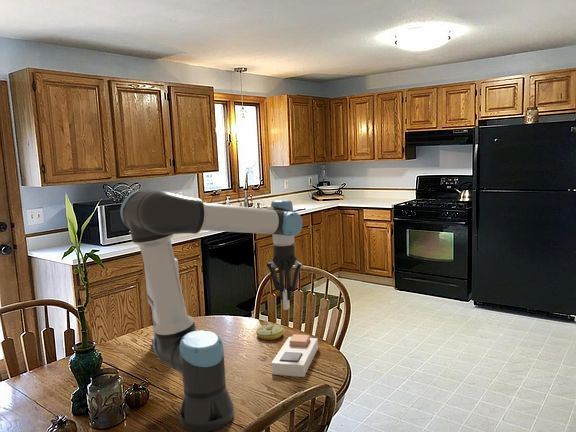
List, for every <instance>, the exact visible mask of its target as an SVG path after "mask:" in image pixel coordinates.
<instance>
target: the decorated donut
mask: <svg viewBox="0 0 576 432" xmlns="http://www.w3.org/2000/svg"><path fill="white" fill-rule="evenodd" d="M283 333H284V328H283V327H282V326H281V325H279V324H273V323H270V324H265V325H261V326H259V327H258V328H257V329H256V332H255V334H256V335H257V336H256V337H258V338H259V339H261V340H264V341H274V340H275V341H276V340H277V339H279V338H281V336H283Z"/></svg>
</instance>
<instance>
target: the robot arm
mask: <svg viewBox="0 0 576 432" xmlns="http://www.w3.org/2000/svg"><path fill="white" fill-rule="evenodd" d="M270 203H271V204H270V207H263V208H260V207H259V208H257V207H250V206H249V207H248V206H241V205H230V204H219V203H209V202H203V200H202V199H200V198H198V197H192V196H186V195H181V194H176V193H174V192H169V191H165V190H151V189H141V190H140V189H139V190H136V191H134V192H131V193H129V194H128V195H127V196H126V197H125V198H124V200H123V202H122V204H121V205H120V213H119V214H120V218H121V221H122V222H123V224H124V225H125V226H126V227H127V228H129V232H130V236H131V241H132V243H133V244H134V245H137V246H138V247H139V249H140V253H141V257H142V261H143V266H145V268H144V271H145V270H146V274H147V278H148V282H149V287H150V291H151V295H152V299H153V303H154V307H155V311H156V316H157V320H158V324H157V325H156V327H155V329H154V328H153V331H154V330H155V335H156V336H155V337H153V339H154V340H153V345H152V348H153V351H154V354H155V355H156V357H157V358H158V359H159V360H160V361H161V362H162V363H163V364H165V365H167V366H168V367H170V368H172V369H173V370H174V371H176V372H177V373H179V374H180V375H182V383H183V397H182V401H181V404H180V405H181V406H180V410H179V422H180V425H181V427H182V428H184V429H185V430H187V431H190V432H212V431H215V430H219V429H221V428H223V427H225V426H226V425H228V424H229V423H230V422H231V421H232V420H233V418H234V416H235V406H234V402H233V400H232V398H231V395H230V394H229V391H228V388H227V382H226V380H227V379H226V369H225V368H226V367H225V365H226V364H225V349H224V345H223V340H222V338H221V337H220V335H219V334H218V333H215V332H214V331H210V330H206V331H205V330H204V329H203V330H202V329H200V330H199V329H198V330H197V329H196V323H195V319H194V317H193V316H192V315H191V316H190V315H189V314H188V313H187V308H186V303H185V300H184V294H183V291H182V286H181V282H180V281H181V280H180V275H179V276H178V271H177V267H176V262H175V258H176V257H175V254H174V250H173V246H172V241H171V239H172V238H173V236H174V235H181V234H182V235H183V234H192V235H193V234H194V235H196V234H199V233H200V232H201V231H207V232H210V231H211V232H225V233H226V232H229V233H244V234H245V233H246V234H248V233H249V234H263V235H264V234H265V235H266V234H267V235H272V243H273V247H272V249H273V250H272V251H273V258H272V260H271V261H269V262H267V263H266V266H267V268H268V270H269V273H270V275H271V276H270V277H271V279H272V282H273V286H274V289H275V290H277V291H279V293H280V294H279V296H280V300H281V301H282V305H283V306H282V307H283V310H285V311H288V310H289V309H290V307H291V306H290V301H291V300H292V299H293V296H292V295H293V292H292V291H295V290H296V289H297V286H298V282H299V276H300V271H301V269H302V267H303V266H304V264H303V262H299V261H298V260H297V258H296V254H295V252H296V249H295V248H296V246H295V244H294V243H295V237H296V236H298V235H299V234H300V233H301V231H302V229H303V223H304V222H303V217H302V216H301V214H300V213H298V212H296V211H294V207H293V206H294V205H293V201H292V200H290V199H275V200H272V201H271V202H270ZM174 257H175V258H174ZM275 267H276V268H277V270H278V274H277V270H276V268H275ZM293 267H294V268H295V269H294V273H293V277H292V268H293ZM292 278H293V279H292ZM285 283H286V284H285Z"/></svg>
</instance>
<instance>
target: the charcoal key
mask: <svg viewBox="0 0 576 432" xmlns="http://www.w3.org/2000/svg"><path fill="white" fill-rule="evenodd" d="M301 357H302V353H297V352H285V353H284V354H283V356H282V357H281V359H280V361H284V362H299V360H300V358H301Z"/></svg>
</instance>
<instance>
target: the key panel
mask: <svg viewBox="0 0 576 432" xmlns="http://www.w3.org/2000/svg"><path fill="white" fill-rule="evenodd" d="M291 338H292V336H288V338H287V339H286V340H285V342H284V343H283V345H282V346H281V348H280V349H279V351H278V352H277V354H276V355H275V356H274V358H273V360H272V361H271V363H270V365H271V367H270V368H271V375H274V376H275V375H277V376H285V377H286V376H288V377H289V376H290V377H298V378H299V377H301V378H304V377H305V376H306V373H308V369H309V368H310V367H311V366H310V365H311V364H312V362H313V359H314V358H315V356H316V353H317V351H318V349H319V339H318V338H317V337H310V342H309V344H308V346H307V347H294V346H290V339H291ZM285 352H297V353H302V357H301V358H300V360H299V362H284V361H280V359H281V357H282V356H283V354H284V353H285Z"/></svg>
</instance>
